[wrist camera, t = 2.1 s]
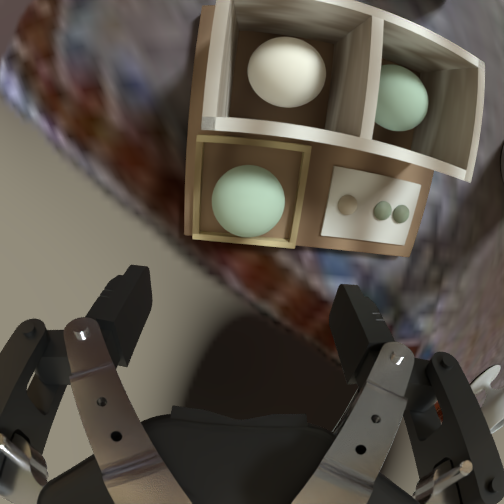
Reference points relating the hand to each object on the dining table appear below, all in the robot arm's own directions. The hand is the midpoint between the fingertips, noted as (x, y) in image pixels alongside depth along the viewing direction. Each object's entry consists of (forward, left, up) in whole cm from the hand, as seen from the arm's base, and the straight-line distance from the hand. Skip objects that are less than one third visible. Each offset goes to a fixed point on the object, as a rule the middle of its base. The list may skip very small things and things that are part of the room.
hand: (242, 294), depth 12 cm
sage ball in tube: (-11, -11, -16) cm, 22 cm away
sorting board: (-7, -7, -17) cm, 20 cm away
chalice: (-65, +38, -18) cm, 77 cm away
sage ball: (0, 0, -16) cm, 16 cm away
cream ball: (-2, -11, -16) cm, 19 cm away
